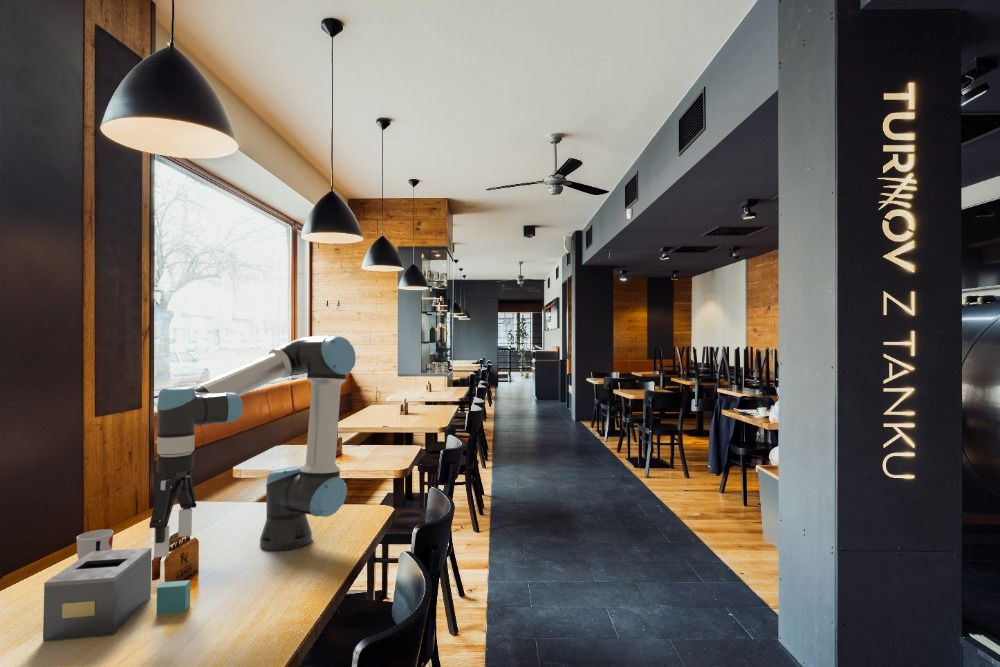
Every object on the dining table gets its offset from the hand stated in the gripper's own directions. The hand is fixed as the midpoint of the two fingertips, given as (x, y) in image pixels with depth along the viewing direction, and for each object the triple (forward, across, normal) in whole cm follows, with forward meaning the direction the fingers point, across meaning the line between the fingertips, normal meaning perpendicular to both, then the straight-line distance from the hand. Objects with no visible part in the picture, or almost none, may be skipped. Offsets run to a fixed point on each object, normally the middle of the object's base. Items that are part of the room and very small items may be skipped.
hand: (173, 545), depth 127 cm
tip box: (+15, +1, -14) cm, 21 cm away
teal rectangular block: (+15, 0, 0) cm, 15 cm away
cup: (+15, -29, -30) cm, 44 cm away
